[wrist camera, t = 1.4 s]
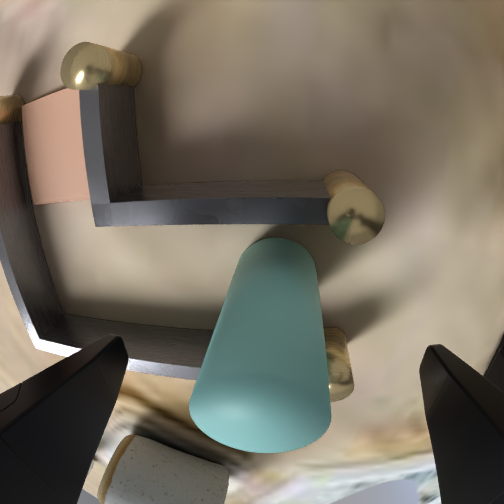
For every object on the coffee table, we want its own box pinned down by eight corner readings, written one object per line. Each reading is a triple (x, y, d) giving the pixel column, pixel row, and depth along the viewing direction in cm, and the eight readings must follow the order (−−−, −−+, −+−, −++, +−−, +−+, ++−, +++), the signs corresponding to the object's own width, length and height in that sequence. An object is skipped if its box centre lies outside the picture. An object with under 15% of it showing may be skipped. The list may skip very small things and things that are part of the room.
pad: (105, 77, 10) (101, 77, 10) (116, 195, 12) (112, 197, 12) (25, 105, 11) (21, 106, 10) (37, 203, 13) (33, 205, 12)
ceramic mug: (128, 412, 18) (87, 500, 12) (237, 453, 19) (218, 545, 12) (122, 458, 23) (96, 520, 16) (201, 488, 24) (185, 552, 17)
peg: (318, 237, 12) (341, 374, 5) (314, 308, 13) (322, 453, 7) (234, 237, 12) (176, 367, 6) (239, 306, 13) (201, 446, 7)
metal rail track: (360, 35, 8) (382, 10, 6) (343, 353, 14) (350, 401, 11) (5, 99, 10) (-38, 105, 8) (56, 327, 16) (29, 357, 13)
